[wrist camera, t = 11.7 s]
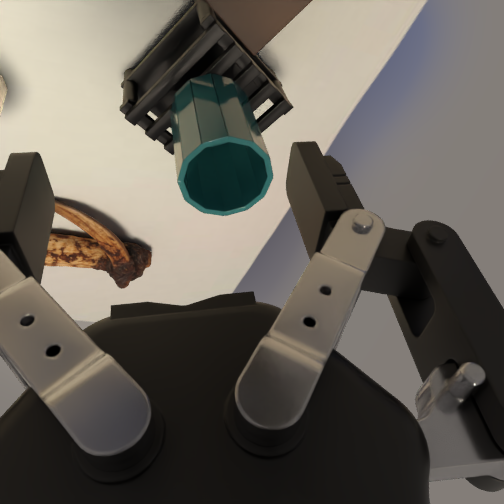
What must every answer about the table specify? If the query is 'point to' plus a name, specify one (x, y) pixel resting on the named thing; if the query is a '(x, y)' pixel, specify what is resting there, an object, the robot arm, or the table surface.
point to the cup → (218, 146)
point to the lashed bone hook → (96, 249)
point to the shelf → (257, 18)
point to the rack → (196, 73)
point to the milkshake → (2, 92)
